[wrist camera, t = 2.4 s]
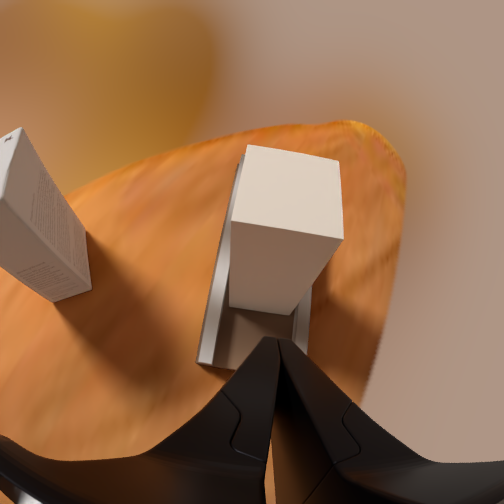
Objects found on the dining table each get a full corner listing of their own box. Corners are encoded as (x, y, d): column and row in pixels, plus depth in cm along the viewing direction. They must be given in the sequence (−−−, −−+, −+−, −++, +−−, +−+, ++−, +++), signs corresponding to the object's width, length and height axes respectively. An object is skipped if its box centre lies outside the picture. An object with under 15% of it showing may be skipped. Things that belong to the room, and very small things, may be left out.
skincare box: (47, 243, 21) (-25, 151, 10) (86, 228, 22) (24, 122, 11) (51, 306, 19) (-49, 227, 8) (94, 292, 20) (3, 196, 9)
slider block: (289, 315, 19) (343, 239, 10) (228, 306, 19) (230, 220, 10) (293, 261, 21) (338, 161, 12) (238, 252, 21) (247, 144, 12)
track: (300, 378, 18) (309, 376, 16) (197, 364, 18) (193, 360, 16) (312, 183, 26) (318, 167, 24) (237, 170, 26) (238, 153, 24)
